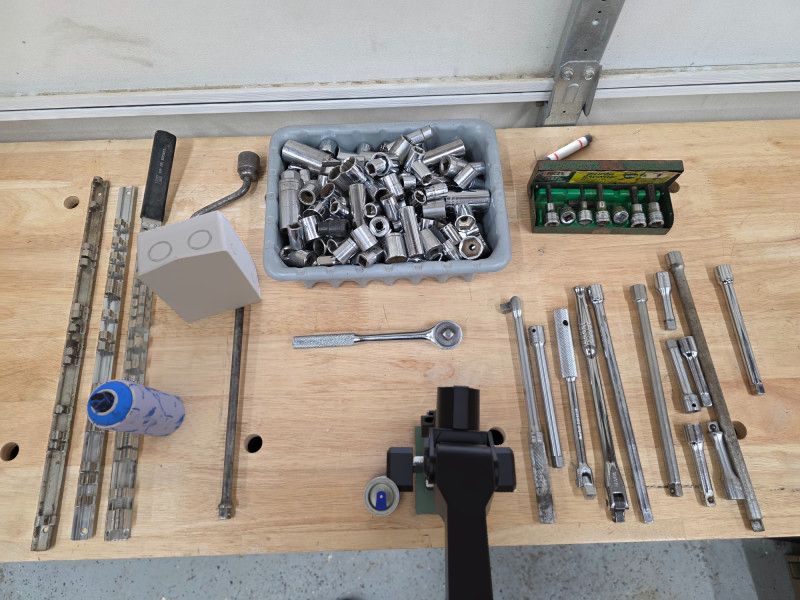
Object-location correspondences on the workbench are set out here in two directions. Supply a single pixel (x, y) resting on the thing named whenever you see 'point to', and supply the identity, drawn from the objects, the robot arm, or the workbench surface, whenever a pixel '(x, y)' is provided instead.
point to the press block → (422, 480)
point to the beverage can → (381, 496)
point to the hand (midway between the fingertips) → (445, 468)
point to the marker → (570, 148)
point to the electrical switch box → (198, 266)
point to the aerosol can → (134, 409)
